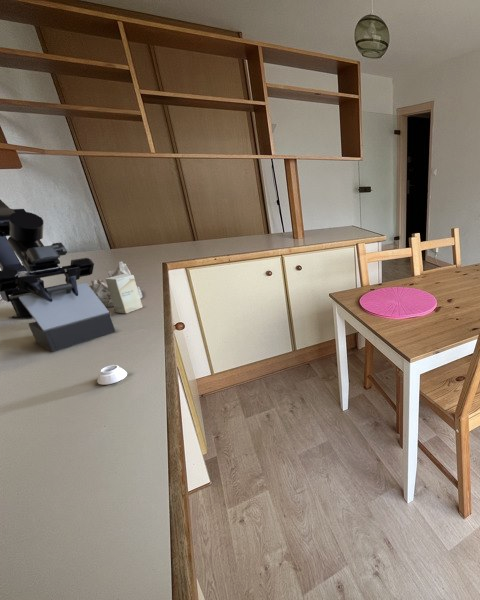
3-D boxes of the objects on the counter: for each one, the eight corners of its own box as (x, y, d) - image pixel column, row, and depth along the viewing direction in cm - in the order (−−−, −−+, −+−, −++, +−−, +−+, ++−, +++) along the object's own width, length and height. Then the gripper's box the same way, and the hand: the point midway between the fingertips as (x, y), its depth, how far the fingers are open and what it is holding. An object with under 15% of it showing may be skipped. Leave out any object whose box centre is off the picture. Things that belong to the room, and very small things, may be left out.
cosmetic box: (126, 314, 105) (115, 279, 101) (115, 312, 106) (103, 278, 102) (143, 307, 111) (134, 274, 107) (133, 306, 112) (123, 273, 107)
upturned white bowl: (129, 378, 72) (124, 370, 75) (126, 368, 71) (120, 360, 74) (101, 389, 68) (96, 380, 71) (96, 377, 67) (92, 369, 70)
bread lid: (18, 298, 81) (17, 287, 78) (86, 284, 92) (87, 274, 90) (43, 331, 80) (43, 321, 77) (108, 313, 91) (110, 304, 89)
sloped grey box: (36, 342, 86) (28, 323, 84) (98, 324, 98) (92, 307, 96) (52, 352, 82) (44, 332, 80) (115, 331, 93) (109, 314, 91)
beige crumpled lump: (144, 289, 127) (131, 253, 121) (141, 303, 115) (125, 264, 109) (94, 298, 120) (77, 260, 113) (84, 314, 107) (64, 273, 101)
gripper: (-25, 239, 73) (12, 292, 72) (79, 229, 88) (111, 273, 88) (-21, 266, 79) (13, 315, 79) (76, 253, 95) (105, 294, 94)
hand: (64, 298), depth 85 cm, fingers closed on bread lid, 5 cm apart
